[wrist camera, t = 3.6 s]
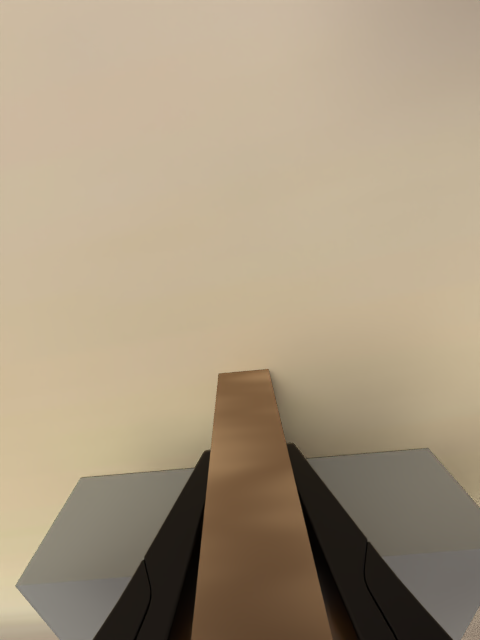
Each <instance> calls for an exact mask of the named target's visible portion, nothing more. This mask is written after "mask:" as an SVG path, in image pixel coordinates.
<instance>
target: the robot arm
mask: <svg viewBox="0 0 480 640" xmlns="http://www.w3.org/2000/svg"><path fill="white" fill-rule="evenodd" d="M286 445H287V449H288V454H289V458H290V462H291V466H292V470H293V475H294V479H295V483H296V487H297V491H298V496H299V500H300V504H301V508H302V513H303V517H304V521H305V525H306V529H307V534H308V538H309V542H310V546H311V550H312V555H313V559H314V563H315V567H316V571H317V576H318V580H319V584H320V588H321V592H322V597H323V601H324V605H325V609H326V614H327V618H328V622H329V626H330V630H331V635H332V639H333V640H453V639H452V638H451V636H450V635H449V634H448V633H447V632H446V631H445V630H444V629H443V628H442V626H441V625H440V624H439V623H438V622H437V621H436V620H435V619H434V618H433V616H432V615H431V614H430V613H429V612H428V611H427V610H426V609H425V608H424V606H423V605H422V604H421V603H420V602H419V601H418V600H417V599H416V597H415V596H414V595H413V594H412V593H411V592H410V591H409V589H408V588H407V587H406V586H405V585H404V584H403V582H402V581H401V580H400V579H399V578H398V577H397V575H396V574H395V573H394V572H393V570H392V569H391V568H390V567H389V565H388V564H387V563H386V562H385V560H384V559H383V558H382V557H381V555H380V554H379V553H378V552H377V550H376V549H375V548H374V546H373V545H372V544H371V543H370V542H369V541H368V542H367V538H366V536H365V535H364V534H363V532H362V531H361V530H360V528H359V527H358V526H357V525H356V523H355V522H354V521H353V519H352V518H351V517H350V515H349V514H348V513H347V512H346V510H345V509H344V508H343V506H342V505H341V504H340V503H339V501H338V500H337V499H336V497H335V496H334V495H333V493H332V492H331V491H330V490H329V488H328V487H327V486H326V484H325V483H324V482H323V480H322V479H321V478H320V477H319V475H318V474H317V473H316V471H315V470H314V469H313V468H312V466H311V465H310V464H309V462H308V461H307V460H306V458H305V457H304V456H303V455H302V453H301V452H300V451H299V449H298V448H297V447H296V445H295V444H294V443H286ZM210 452H211V450H206V451H204V453H203V454H202V456H201V458H200V460H199V461H198V463H197V465H196V467H195V468H194V470H193V472H192V474H191V475H190V477H189V479H188V481H187V482H186V484H185V486H184V488H183V489H182V491H181V493H180V495H179V496H178V498H177V500H176V502H175V503H174V505H173V507H172V508H171V510H170V512H169V514H168V515H167V517H166V519H165V521H164V522H163V524H162V526H161V528H160V529H159V531H158V533H157V535H156V536H155V538H154V540H153V542H152V543H151V545H150V547H149V549H148V550H147V552H146V554H145V556H144V560H142V561H141V562H140V564H139V566H138V568H137V569H136V571H135V573H134V575H133V577H132V578H131V580H130V582H129V583H128V585H127V587H126V588H125V590H124V592H123V593H122V595H121V597H120V598H119V600H118V601H117V603H116V605H115V606H114V608H113V609H112V611H111V612H110V614H109V615H108V617H107V618H106V620H105V621H104V623H103V624H102V626H101V628H100V629H99V631H98V632H97V634H96V635H95V636H94V638H93V639H92V640H191V636H192V627H193V617H194V607H195V598H196V588H197V578H198V569H199V559H200V549H201V540H202V530H203V520H204V510H205V501H206V491H207V481H208V472H209V462H210Z"/></svg>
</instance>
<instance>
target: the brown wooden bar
mask: <svg viewBox="0 0 480 640" xmlns="http://www.w3.org/2000/svg"><path fill="white" fill-rule="evenodd" d="M191 640H333V639H332V635H331V630H330V626H329V622H328V618H327V614H326V609H325V605H324V601H323V597H322V592H321V588H320V584H319V580H318V576H317V571H316V567H315V563H314V559H313V555H312V550H311V546H310V542H309V538H308V534H307V529H306V525H305V521H304V517H303V513H302V508H301V504H300V500H299V496H298V491H297V487H296V483H295V479H294V475H293V470H292V466H291V462H290V458H289V454H288V449H287V445H286V441H285V437H284V433H283V428H282V424H281V420H280V416H279V412H278V407H277V403H276V399H275V395H274V390H273V386H272V382H271V378H270V374H269V369H265V370H254V371H243V372H232V373H221V374H219V375H218V385H217V394H216V404H215V414H214V423H213V433H212V443H211V452H210V462H209V472H208V481H207V491H206V501H205V510H204V520H203V530H202V540H201V549H200V559H199V569H198V578H197V588H196V598H195V607H194V617H193V627H192V636H191Z"/></svg>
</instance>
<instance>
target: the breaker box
mask: <svg viewBox="0 0 480 640" xmlns="http://www.w3.org/2000/svg"><path fill="white" fill-rule="evenodd" d="M306 460H307V461H308V462H309V464H310V465H311V466H312V468H313V469H314V470H315V471H316V473H317V474H318V475H319V477H320V478H321V479H322V480H323V482H324V483H325V484H326V486H327V487H328V488H329V490H330V491H331V492H332V493H333V495H334V496H335V497H336V499H337V500H338V501H339V503H340V504H341V505H342V506H343V508H344V509H345V510H346V512H347V513H348V514H349V515H350V517H351V518H352V519H353V521H354V522H355V523H356V525H357V526H358V527H359V528H360V530H361V531H362V532H363V534H364V535H365V536H366V538H367V542H368V541H369V542H370V543H371V544H372V545H373V546H374V548H375V549H376V550H377V552H378V553H379V554H380V555H381V557H382V558H383V559H384V560H385V562H386V563H387V564H388V565H389V567H390V568H391V569H392V570H393V572H394V573H395V574H396V575H397V577H398V578H399V579H400V580H401V581H402V582H403V584H404V585H405V586H406V587H407V588H408V589H409V591H410V592H411V593H412V594H413V595H414V596H415V597H416V599H417V600H418V601H419V602H420V603H421V604H422V605H423V606H424V608H425V609H426V610H427V611H428V612H429V613H430V614H431V615H432V616H433V618H434V619H435V620H436V621H437V622H438V623H439V624H440V625H441V626H442V628H443V629H444V630H445V631H446V632H447V633H448V634H449V635H450V636H451V638H452V639H453V640H461V638H462V637H463V635H464V633H465V631H466V629H467V628H468V626H469V624H470V622H471V620H472V619H473V617H474V615H475V613H476V611H477V610H478V608H479V606H480V508H479V506H478V505H477V504H476V503H475V502H474V501H473V500H472V498H471V497H470V496H469V495H468V494H467V493H466V491H465V490H464V489H463V488H462V487H461V486H460V485H459V483H458V482H457V481H456V480H455V479H454V478H453V476H452V475H451V474H450V473H449V472H448V471H447V470H446V468H445V467H444V466H443V465H442V464H441V463H440V461H439V460H438V459H437V458H436V457H435V456H434V454H433V453H432V452H431V451H430V450H429V449H428V448H426V449H414V450H403V451H391V452H379V453H367V454H355V455H344V456H332V457H320V458H308V459H306ZM193 470H194V468H191V469H179V470H167V471H155V472H144V473H132V474H120V475H108V476H97V477H85V478H80V480H79V481H78V483H77V485H76V486H75V488H74V490H73V491H72V493H71V495H70V496H69V498H68V500H67V501H66V503H65V505H64V506H63V508H62V509H61V511H60V513H59V514H58V516H57V518H56V519H55V521H54V523H53V524H52V526H51V528H50V529H49V531H48V533H47V534H46V536H45V538H44V539H43V541H42V543H41V544H40V546H39V547H38V549H37V551H36V552H35V554H34V556H33V557H32V559H31V561H30V562H29V564H28V566H27V567H26V569H25V571H24V572H23V574H22V576H21V577H20V579H19V580H18V582H17V584H16V585H15V586H16V587H17V589H18V590H19V591H20V592H21V594H22V595H23V596H24V597H25V598H26V600H27V601H28V602H29V603H30V604H31V606H32V607H33V608H34V609H35V610H36V612H37V613H38V614H39V615H40V616H41V618H42V619H43V620H44V621H45V622H46V624H47V625H48V626H49V627H50V629H51V630H52V631H53V632H54V633H55V635H56V636H57V637H58V638H59V639H60V640H92V639H93V638H94V636H95V635H96V634H97V632H98V631H99V629H100V628H101V626H102V624H103V623H104V621H105V620H106V618H107V617H108V615H109V614H110V612H111V611H112V609H113V608H114V606H115V605H116V603H117V601H118V600H119V598H120V597H121V595H122V593H123V592H124V590H125V588H126V587H127V585H128V583H129V582H130V580H131V578H132V577H133V575H134V573H135V571H136V569H137V568H138V566H139V564H140V562H141V561H142V560H144V556H145V554H146V552H147V550H148V549H149V547H150V545H151V543H152V542H153V540H154V538H155V536H156V535H157V533H158V531H159V529H160V528H161V526H162V524H163V522H164V521H165V519H166V517H167V515H168V514H169V512H170V510H171V508H172V507H173V505H174V503H175V502H176V500H177V498H178V496H179V495H180V493H181V491H182V489H183V488H184V486H185V484H186V482H187V481H188V479H189V477H190V475H191V474H192V472H193Z"/></svg>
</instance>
